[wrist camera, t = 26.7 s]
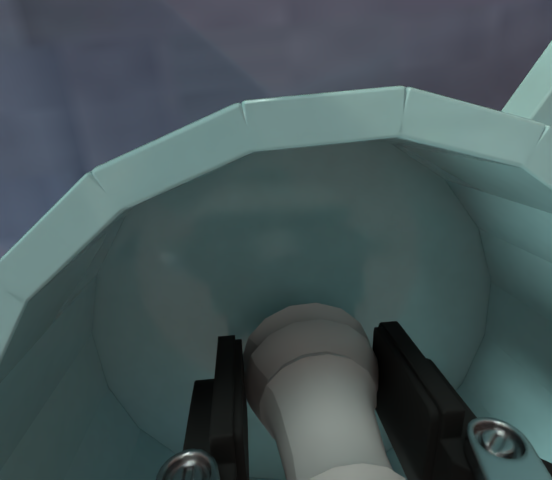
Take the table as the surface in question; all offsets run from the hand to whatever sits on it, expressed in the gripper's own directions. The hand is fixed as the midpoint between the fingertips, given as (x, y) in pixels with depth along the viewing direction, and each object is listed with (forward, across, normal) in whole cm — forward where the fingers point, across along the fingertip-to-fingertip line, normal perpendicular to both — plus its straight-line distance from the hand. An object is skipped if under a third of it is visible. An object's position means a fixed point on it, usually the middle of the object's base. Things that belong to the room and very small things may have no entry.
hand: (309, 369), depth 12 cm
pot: (+3, 0, 0) cm, 3 cm away
